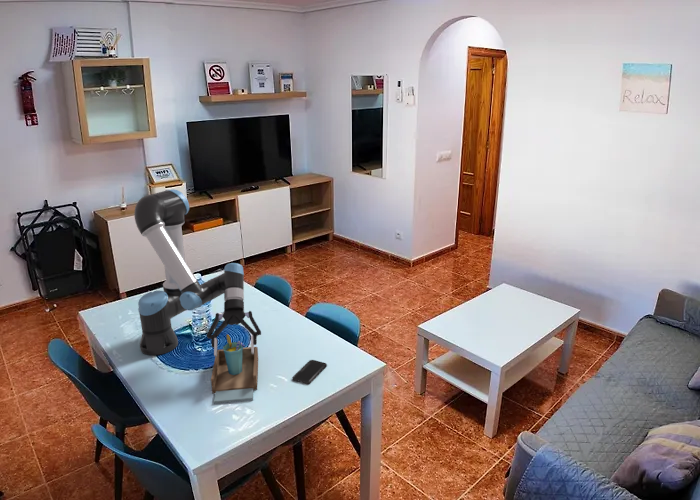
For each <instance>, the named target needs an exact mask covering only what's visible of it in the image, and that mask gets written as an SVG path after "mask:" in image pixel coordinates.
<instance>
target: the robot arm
mask: <svg viewBox="0 0 700 500" xmlns="http://www.w3.org/2000/svg"><path fill="white" fill-rule="evenodd" d="M189 211H190V203H189V201H188V198H187V197H186V195H184V193H183V192H182V191H180V190H178V189H166V190H162V191H160V192H155V193H151V194H148V195H144V196H143V197H141V198H140V199H139V200H138V201H137V203H136V204H135V208H134V214H133V215H134V217H133V218H134V221H135V224H136V227H137V229H138V231H139V233H140V235H141V236H142V237H145V238H146V239H147V240H148V242H149V243H150V245H151V246H152V248H153V250H154V252H155V253H156V254H157V257H158V258H159V260H160V261H161V263H162V264H163V265H164V267H163V268H164V274H165V281H164V282H163V283H162V288H163V290H154V291H150V292H147V293H145V294H144V295H142V296H141V297H140V298H139V300H138V309H137V310H138V313H139V320H140V326H141V331H142V332H141V338H140V342H139V349H140V352H141V353H142V354H144V355H146V356H159V355H165V354H168V353H169V352H171V351H173V350H175V349H176V348H177V347H178V345H179V340H178V336H177V335H176V333H175V331H174V329H173V328H172V321H171V319H173V318H174V317H177V316H179V315H181V314H182V313H184V312H185V311H186V312H187V311H193V310H196V309H199V308H200V307H202V306H203V305H205V304H207V303H209V302H211V301H212V300H215V299H216V298H218V297H220V296H222V295H223V296H224V298H223V299H224V300H223V301H224V303H223V306H224V307H223V310H224V311H223V313H224V314H222V313H221V314H219V313H220V312H216V313H215V314H216V315H215V317H214V319H213V322H212V324H211V326H210V328H209V329H208V331H207V333H206V335H205V336H206V337H207V339H210V340H211V343H210V346H211V348H213V355H214V358H215V357H217V350H218V339H217V337H218V336H219V335H220V334H221V333H222V332H223V331H224V329H226V328H227V327H228V325H230V326H233V325H239V324H241V326H242V327H244V328H245V329H246V330H247V331H248V332H249V333H250V334H251V336H250V342H251V344H250V347H251V353H252V354H254V347H255V346H256V345H257V337H258V336H261V335H262V331H261V329H260V327H259V326H258V324H257V322H256V321H255V319H254V317H253V312H252V310H249V311H248V312H245V295H244V293H245V289H244V288H245V287H244V283H245V282H244V280H245V279H244V277H245V273H244V267H243V265H242V264H240V263H238V262H237V263H236V262H231V263H227V264H226V265H225V266H224V269H223V271H224V272H223V273H221V274H219V275H217V276H215V277H213V278H210V279H208V280H207V281H205V282H203V283H200V282H199V281H198V279H197V278H196V276H195V274H194V272H193V271H192V270H191V268H190V266H189V265H188V263H187V261H186V256H185V248H184V247H185V246H184V238H183V237H184V236H183V230H182V226H183V225H184V224H185V222H186V221H185V215H187V214H188V213H189ZM245 317H247V318H248V319H249V320H250V323H251V324H252V326H253V328H254V329H255V330H254V329H253V328H252V326H250V325H249V324H248V322H246V321H245V320H244V318H245ZM221 318H222V319H224V320H223V321H222V323H221V324H220V326H219V327H218V328H217V326H218V324H219V322H220V321H221V320H222V319H221ZM216 328H217V329H216Z"/></svg>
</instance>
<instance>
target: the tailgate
mask: <svg viewBox="0 0 700 500" xmlns="http://www.w3.org/2000/svg"><path fill="white" fill-rule="evenodd" d="M254 391H255V390H253V388H249V389H237V390H226V391H216V393H214V394H215V395H214V400H213V403H214V405H215V404H216V405H217V404H227V403H235V402H236V403H237V402H247V401H254Z"/></svg>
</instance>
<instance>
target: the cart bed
mask: <svg viewBox="0 0 700 500" xmlns="http://www.w3.org/2000/svg"><path fill="white" fill-rule="evenodd" d="M210 377H211V378H210V383H211V391H212V394H215V393H216V391H226V390H237V389H249V388H253V390H254V391H256V390H258V377H259V351H258V346H254V354H252V353H251V346H249V347H247V346H246V347H243V350H242V372H241V373H240V374H237V375H231V374H229V372H228V368H227V363H226V357H225V353H224V350H223V348H222V349H217V357H215V356H214V362H213V366H212V372H211V376H210Z"/></svg>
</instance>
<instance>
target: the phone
mask: <svg viewBox="0 0 700 500" xmlns="http://www.w3.org/2000/svg"><path fill="white" fill-rule="evenodd" d="M327 367H328V364H327V363H326V362H322V361H319V360H315V359H309V360H308V361H307V362H306V363H305V364H304V365H303V366H302V367H301V368H300V369H299V370H298V371H297V372H296V373H295V374H294V375H293V376H292V377H291V378H292V381H293V382H294V381H295V382H297V383H300V384H303V385H310V384H312V382H314V380H315V379H316V378H317V377H319V376H320V374H321V373H322V372H323V371H324V370H325V369H326V368H327Z"/></svg>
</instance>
